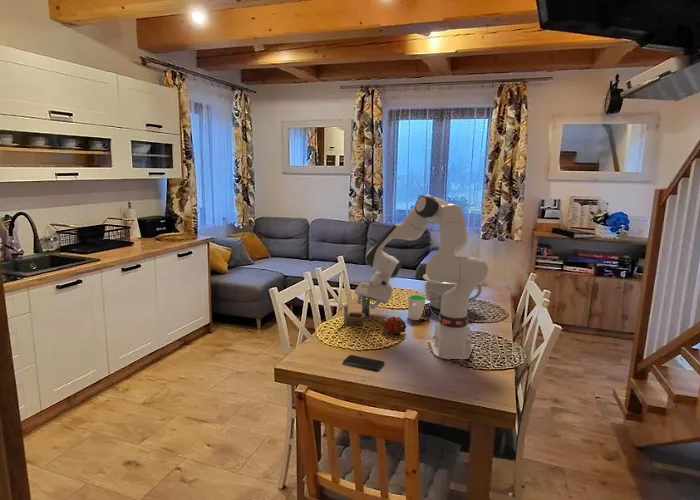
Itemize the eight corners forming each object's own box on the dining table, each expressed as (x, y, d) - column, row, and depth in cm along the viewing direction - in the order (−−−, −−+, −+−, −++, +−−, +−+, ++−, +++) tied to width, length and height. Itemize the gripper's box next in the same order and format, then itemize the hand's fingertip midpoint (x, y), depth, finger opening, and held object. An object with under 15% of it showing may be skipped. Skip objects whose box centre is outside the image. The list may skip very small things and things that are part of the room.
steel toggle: (368, 317, 228) (369, 300, 226) (360, 316, 229) (361, 299, 227) (370, 314, 232) (370, 297, 230) (362, 313, 233) (362, 297, 231)
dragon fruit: (407, 339, 204) (382, 338, 210) (411, 324, 210) (387, 323, 215) (401, 328, 199) (376, 327, 205) (406, 313, 204) (381, 312, 210)
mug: (421, 323, 221) (422, 303, 219) (405, 321, 224) (406, 301, 222) (425, 315, 232) (426, 296, 230) (409, 313, 235) (410, 294, 233)
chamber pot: (411, 302, 253) (413, 266, 249) (451, 297, 265) (453, 263, 261) (441, 318, 229) (443, 279, 225) (483, 312, 240) (487, 274, 236)
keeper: (361, 327, 214) (361, 307, 212) (343, 325, 216) (343, 305, 214) (365, 320, 224) (365, 300, 222) (348, 318, 226) (348, 299, 224)
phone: (378, 369, 169) (342, 361, 175) (378, 372, 169) (341, 364, 175) (385, 361, 176) (350, 354, 182) (385, 364, 176) (350, 357, 182)
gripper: (360, 276, 239) (347, 298, 234) (391, 284, 225) (377, 307, 220) (365, 283, 243) (352, 304, 238) (396, 291, 230) (383, 313, 224)
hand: (365, 305), depth 229 cm, fingers open, 8 cm apart
